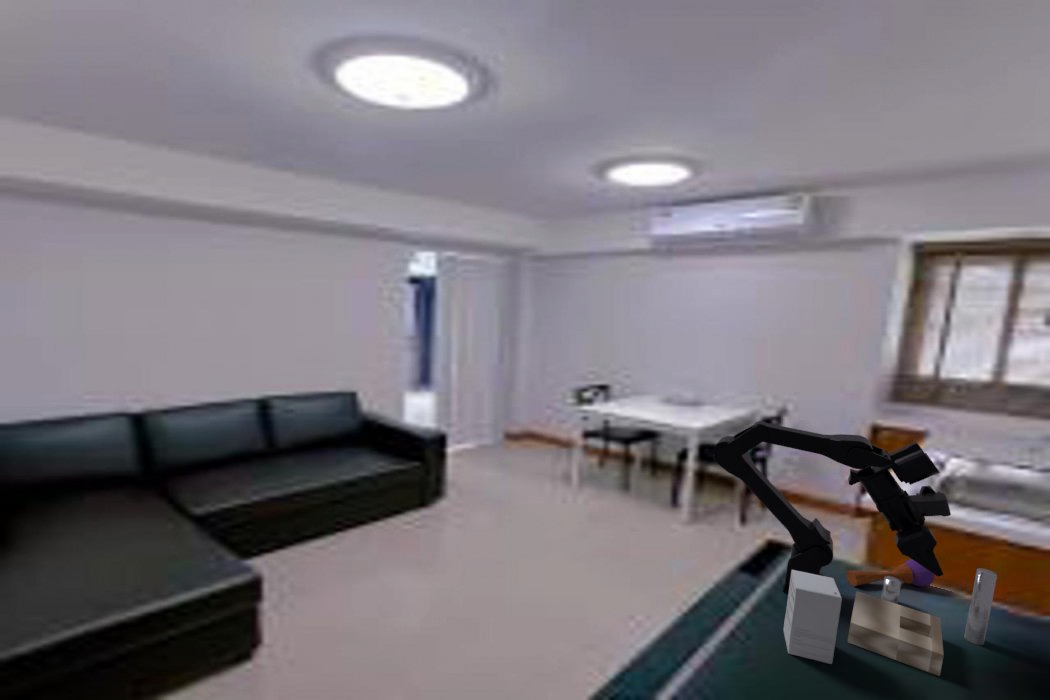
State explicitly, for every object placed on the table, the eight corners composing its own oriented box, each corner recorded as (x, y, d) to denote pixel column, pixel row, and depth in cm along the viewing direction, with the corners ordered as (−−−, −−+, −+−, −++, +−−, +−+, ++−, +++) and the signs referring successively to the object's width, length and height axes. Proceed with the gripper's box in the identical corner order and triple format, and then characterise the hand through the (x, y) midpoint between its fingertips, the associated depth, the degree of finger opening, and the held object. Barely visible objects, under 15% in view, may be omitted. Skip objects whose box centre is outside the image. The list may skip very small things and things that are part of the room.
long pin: (964, 640, 108) (977, 572, 106) (963, 633, 111) (976, 566, 109) (984, 647, 107) (998, 578, 105) (983, 639, 109) (996, 571, 107)
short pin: (880, 601, 120) (884, 579, 119) (881, 596, 123) (884, 574, 122) (897, 607, 118) (901, 585, 118) (897, 601, 121) (901, 579, 120)
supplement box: (825, 641, 105) (835, 577, 103) (832, 666, 98) (843, 598, 96) (782, 630, 107) (791, 568, 105) (786, 653, 100) (796, 587, 99)
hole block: (847, 642, 105) (850, 622, 104) (853, 609, 116) (856, 591, 116) (939, 676, 97) (943, 655, 97) (936, 637, 109) (940, 618, 108)
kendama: (841, 560, 129) (918, 554, 132) (842, 587, 129) (919, 580, 132) (860, 569, 124) (940, 562, 126) (861, 597, 123) (942, 589, 126)
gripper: (937, 491, 101) (994, 570, 98) (920, 464, 118) (968, 531, 115) (875, 516, 106) (928, 592, 103) (867, 486, 123) (912, 552, 120)
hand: (936, 565), depth 110 cm, fingers open, 9 cm apart
